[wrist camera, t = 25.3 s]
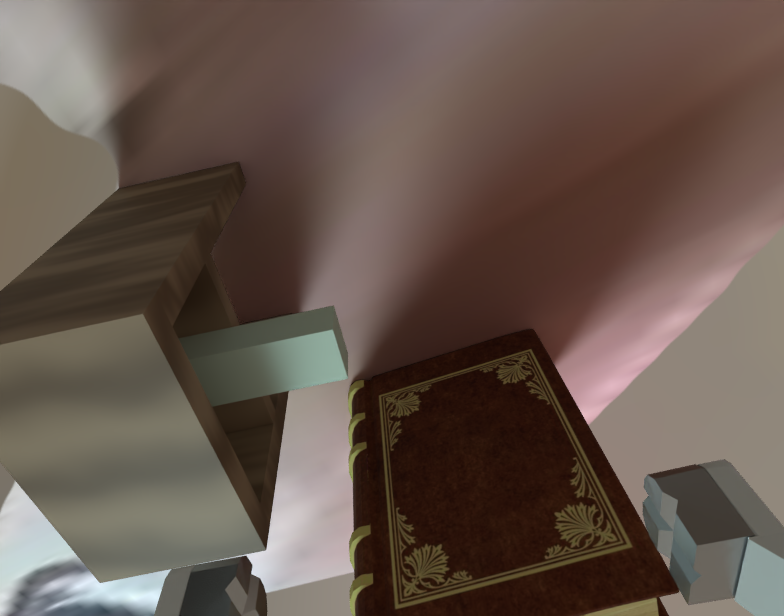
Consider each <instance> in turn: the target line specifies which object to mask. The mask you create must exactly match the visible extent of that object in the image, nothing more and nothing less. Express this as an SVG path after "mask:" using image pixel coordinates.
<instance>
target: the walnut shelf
mask: <svg viewBox="0 0 784 616" xmlns="http://www.w3.org/2000/svg"><path fill="white" fill-rule="evenodd" d="M245 185H246V181H245V178H244V175H243V173H242V170H241V167H240V164H239V162H235V163H230V164H226V165H222V166H217V167H213V168H208V169H204V170H199V171H195V172H191V173H186V174H182V175H177V176H173V177H168V178H164V179H160V180H155V181H151V182H146V183H142V184H137V185H133V186H128V187H124V188H120V189H118V190H117V191H116V192H114V193H113V194H112V195H111V196H110V197H109V198H107V199H106V200H105V201H104V202H103V203H102V204H100V205H99V206H98V207H97V208H96V209H95V210H94V211H92V212H91V213H90V214H89V215H88V216H87V217H86V218H84V219H83V220H82V221H81V222H80V223H79V224H77V225H76V226H75V227H74V228H73V229H72V230H70V231H69V232H68V233H67V234H66V235H65V236H64V237H62V239H60V240H59V241H58V242H57V243H55V244H54V245H53V246H52V247H51V248H50V249H49V250H47V251H46V252H45V253H44V254H43V255H42V256H40V257H39V258H38V259H37V260H36V261H35V262H34V263H32V264H31V265H30V266H29V267H28V268H27V269H25V270H24V271H23V272H22V273H21V274H20V275H19V276H17V277H16V278H15V279H14V280H13V281H12V282H10V283H9V284H8V285H7V286H6V287H5V288H4V289H2V290H1V291H0V462H1V464H2V465H3V466H4V467H5V469H6V470H7V471H8V472H9V473H10V474H11V476H12V477H13V478H14V479H15V481H16V482H17V483H18V484H19V486H20V487H21V488H22V489H23V490H24V492H25V493H26V494H27V495H28V496H29V498H30V499H31V500H32V501H33V502H34V504H35V505H36V506H37V507H38V509H39V510H40V511H41V512H42V513H43V515H44V516H45V517H46V518H47V519H48V521H49V522H50V523H51V524H52V526H53V527H54V528H55V529H56V530H57V532H58V533H59V534H60V535H61V536H62V538H63V539H64V540H65V541H66V542H67V544H68V545H69V546H70V547H71V549H72V550H73V551H74V552H75V553H76V555H77V556H78V557H79V558H80V559H81V561H82V562H83V563H84V564H85V566H86V567H87V568H88V569H89V570H90V572H91V573H92V574H93V575H94V576H95V578H96V579H97V580H98V581H99V582H100V583H103V582H108V581H113V580H118V579H123V578H128V577H133V576H138V575H143V574H148V573H153V572H158V571H163V570H168V569H173V568H179V567H184V566H189V565H194V564H199V563H204V562H209V561H214V560H219V559H224V558H229V557H234V556H239V555H244V554H249V553H255V552H260V551H265V550H266V547H267V540H268V533H269V526H270V519H271V512H272V505H273V498H274V491H275V484H276V477H277V470H278V463H279V456H280V449H281V442H282V435H283V428H284V420H285V413H286V406H287V399H288V392H289V391H286V392H281V393H276V394H271V395H266V396H261V397H257V398H252V399H247V400H242V401H237V402H232V403H228V404H223V405H218V406H213V407H212V405H211V403H210V401H209V399H208V397H207V395H206V393H205V391H204V389H203V387H202V385H201V383H200V381H199V379H198V377H197V375H196V373H195V371H194V369H193V367H192V365H191V363H190V361H189V359H188V357H187V355H186V353H185V351H184V349H183V347H182V345H181V343H180V341H179V339H178V338H183V337H188V336H193V335H197V334H202V333H207V332H211V331H216V330H221V329H226V328H230V327H235V326H240V325H244V324H249V323H254V322H259V321H263V320H268V319H273V318H277V317H282V316H287V315H292V313H290V314H285V315H281V316H276V317H271V318H267V319H262V320H257V321H253V322H248V323H243V324H239V321H238V319H237V316H236V314H235V312H234V309H233V307H232V304H231V302H230V300H229V297H228V295H227V292H226V290H225V288H224V285H223V283H222V280H221V278H220V276H219V273H218V271H217V268H216V266H215V264H214V261H213V259H212V256H211V254H210V253H211V251H212V249H213V247H214V245H215V243H216V241H217V239H218V237H219V235H220V233H221V231H222V229H223V227H224V225H225V224H226V222H227V220H228V218H229V216H230V214H231V212H232V210H233V208H234V206H235V204H236V202H237V200H238V198H239V197H240V195H241V193H242V191H243V189H244V187H245Z"/></svg>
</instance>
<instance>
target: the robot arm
mask: <svg viewBox="0 0 784 616" xmlns="http://www.w3.org/2000/svg"><path fill="white" fill-rule="evenodd" d="M644 489H645V490H646V492H647V494H648V495H649V496H648V497H647V498H646V499H645V500H644V502H643V516H644V521H645V525H646V528H647V531H648V533H649V536H650V538H651V540H652V542H653V544H654V545H655V547H656V549H657V551H659V552H660V553H662V554H663V555H665V556H667V557H668V558H670V570H669V572H670V574H671V576H672V578H673V579H674V581H675V583H676V585H677V586H678V588H679V590H680V592H681V593H682V595H683V597H684V599H685V600H686V602H687V604H688V605H692V604H698V603H704V602H711V601H716V600H723V599H730V598H735V601H736V602H737V603H739V604H740V605H741V606H743V607H744V608H745V609H746V610H748V611H749V612H750V613H752V614H753V615H754V616H784V527H783V525H782V524H781V523H780V521H779V520H778V519H777V518H776V517H775V516H774V514H773V513H772V512H771V511H770V510H769V508H768V507H767V506H766V505H765V504H764V502H763V501H762V500H761V499H760V498H759V496H758V495H757V494H756V493H755V492H754V490H753V489H752V488H751V487H750V485H749V484H748V483H747V482H746V481H745V479H743V477H742V476H741V475H740V473H739V472H738V471H737V470H736V469H735V467H734V466H733V465H732V464H731V463H730V462H728V461H726V460H725V459H724V460H717V461H712V462H708V463H703V464H699V465H695V464H694V465H690V466H685V467H681V468H676V469H671V470H667V471H663V472H658V473H653V474H648V475H647V476H646V477H645V479H644ZM251 571H252V564H251V562H250V561H249V559H248V558H247V556H242V557H236V558H231V559H225V560H220V561H214V562H208V563H203V564H196V565H191V566H186V567H181V568H176V569H171V571H170V572H169V574H168V575H167V577H166V578H165V581H164V585H163V588H162V591H161V594H160V598H159V601H158V604H157V607H156V611H155V614H154V616H267V599H266V593H265V589H264V585H263V583H262V582H261V580H260V578H258V577H256V576H254V575H252V574H251Z"/></svg>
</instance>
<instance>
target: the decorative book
mask: <svg viewBox="0 0 784 616" xmlns="http://www.w3.org/2000/svg"><path fill="white" fill-rule="evenodd" d="M348 404H349V412H350V415H351V418H352V419H351V420H350V424H349V443H350V446H351V451H350V455H349V473H350V476H351V479H352V481H353V512H354V532H353V533H352V535H351V538H350V541H349V552H350V561H351V564H352V566H353V568H354V573H355V574H354V575H355V580H354V581H353V583H352V585H351V588H350V610H351V613H352V615H353V616H669V615H668V613H667V611H666V609H665V607H664V606H663V604H662V602H661V600H660V598H659V597H661V596H666V595H671V594H675V593H678V592H679V588H678V586H677V585H676V583H675V581H674V579H673V578H672V576H671V574H670V572H669V570H668V568H667V566H666V564H665V562H664V560H663V558H662V557H661V555H660V553H659V551H657V549H656V547H655V545H654V544H653V542H652V540H651V538H650V536H649V533H648V531H647V529H646V528H645V526H644V524H643V522H642V520H641V519H640V517H639V515H638V514H637V512H636V510H635V508H634V506H633V505H632V503H631V501H630V499H629V498H628V495H627V494H626V492H625V490H624V488H623V487H622V485H621V483H620V481H619V479H618V478H617V476H616V474H615V472H614V471H613V469H612V467H611V465H610V463H609V462H608V460H607V458H606V456H605V454H604V453H603V451H602V449H601V447H600V446H599V444H598V442H597V440H596V438H595V437H594V435H593V433H592V431H591V430H590V428H589V426H588V424H587V422H586V421H585V419H584V417H583V415H582V413H581V412H580V410H579V408H578V406H577V405H576V403H575V401H574V399H573V397H572V396H571V394H570V392H569V390H568V389H567V387H566V385H565V383H564V381H563V380H562V378H561V376H560V374H559V373H558V371H557V369H556V367H555V365H554V364H553V362H552V360H551V358H550V356H549V355H548V353H547V351H546V349H545V348H544V346H543V344H542V343H541V341H540V339H539V337H538V336H537V334H536V333H535V331H534V330H533V329H530V330H526V331H522V332H518V333H514V334H510V335H506V336H503V337H499V338H496V339H493V340H489V341H486V342H483V343H480V344H476V345H473V346H470V347H467V348H464V349H461V350H458V351H454V352H451V353H448V354H445V355H442V356H438V357H435V358H432V359H429V360H426V361H422V362H419V363H416V364H413V365H410V366H406V367H403V368H400V369H397V370H394V371H391V372H387V373H384V374H381V375H378V376H375V377H373V378H372V380H370V381H366V380H359V381H355V382H354V383H353V384H352V385H351V386H350V390H349V393H348Z"/></svg>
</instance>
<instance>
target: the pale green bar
mask: <svg viewBox="0 0 784 616" xmlns="http://www.w3.org/2000/svg"><path fill="white" fill-rule="evenodd" d="M178 339H179V341H180V343H181V345H182V347H183V349H184V351H185V353H186V355H187V357H188V359H189V361H190V363H191V365H192V367H193V369H194V371H195V373H196V375H197V377H198V379H199V381H200V383H201V385H202V387H203V389H204V391H205V393H206V395H207V397H208V399H209V401H210V403H211V405H212V407H213V406H218V405H223V404H228V403H232V402H237V401H242V400H247V399H252V398H257V397H261V396H266V395H271V394H276V393H281V392H286V391H290V390H295V389H300V388H305V387H310V386H315V385H319V384H324V383H329V382H334V381H339V380H344V379H348V352H347V349H346V345H345V342H344V339H343V335H342V332H341V328H340V325H339V322H338V318H337V315H336V312H335V308H334V306H329V307H325V308H320V309H315V310H310V311H306V312H301V313H296V314H292V315H287V316H282V317H277V318H273V319H268V320H263V321H259V322H254V323H249V324H244V325H240V326H235V327H230V328H226V329H221V330H216V331H211V332H207V333H202V334H197V335H193V336H188V337H183V338H178Z"/></svg>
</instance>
